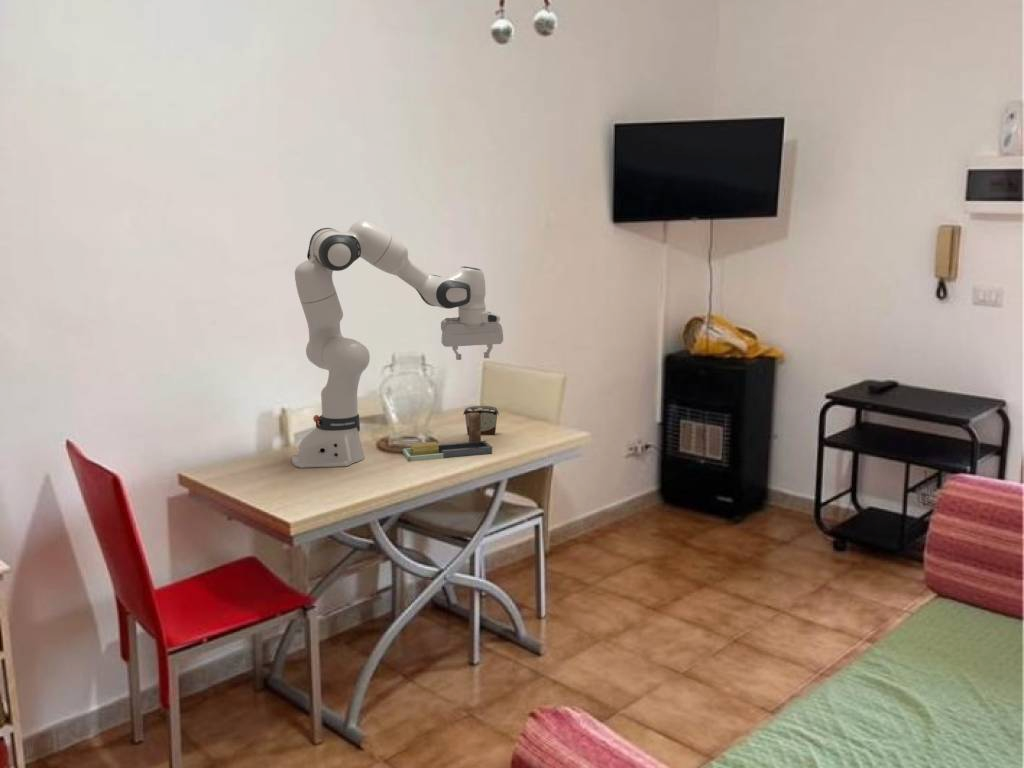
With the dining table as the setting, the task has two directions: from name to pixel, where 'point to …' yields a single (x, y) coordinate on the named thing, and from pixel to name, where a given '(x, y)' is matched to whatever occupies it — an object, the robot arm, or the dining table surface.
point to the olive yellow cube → (432, 448)
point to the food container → (483, 418)
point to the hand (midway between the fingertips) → (472, 358)
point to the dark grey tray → (465, 449)
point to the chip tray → (421, 456)
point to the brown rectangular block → (474, 427)
